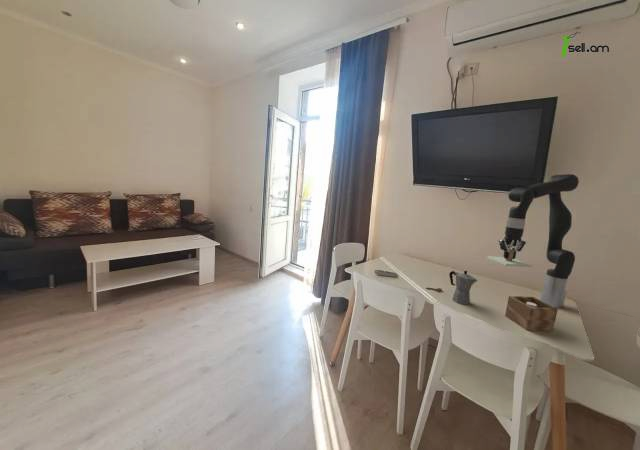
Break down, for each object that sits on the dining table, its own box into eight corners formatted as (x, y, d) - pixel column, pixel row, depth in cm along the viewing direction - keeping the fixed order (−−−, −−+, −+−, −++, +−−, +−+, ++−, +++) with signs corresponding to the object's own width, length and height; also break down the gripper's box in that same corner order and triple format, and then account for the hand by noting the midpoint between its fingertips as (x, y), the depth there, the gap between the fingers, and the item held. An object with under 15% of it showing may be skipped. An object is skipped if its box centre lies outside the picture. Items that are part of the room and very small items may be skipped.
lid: (510, 259, 144) (512, 247, 143) (532, 267, 130) (534, 253, 129) (486, 257, 143) (488, 245, 142) (506, 265, 129) (508, 252, 128)
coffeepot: (477, 304, 143) (482, 273, 140) (468, 307, 138) (473, 276, 135) (450, 293, 155) (454, 265, 153) (441, 296, 150) (446, 267, 147)
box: (528, 316, 132) (533, 296, 130) (552, 331, 119) (557, 309, 117) (504, 315, 131) (508, 295, 129) (526, 330, 118) (531, 308, 117)
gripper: (521, 226, 138) (515, 257, 141) (497, 224, 137) (491, 255, 140) (533, 228, 130) (527, 261, 133) (507, 227, 130) (501, 260, 132)
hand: (509, 258), depth 136 cm, fingers closed on lid, 3 cm apart
